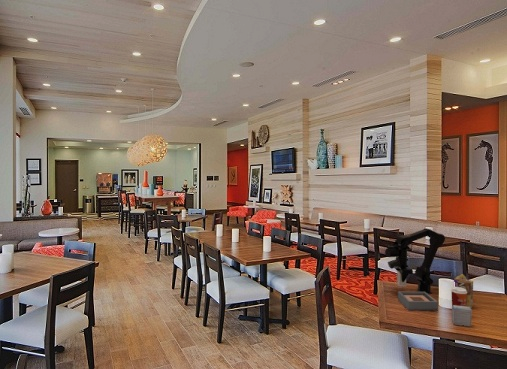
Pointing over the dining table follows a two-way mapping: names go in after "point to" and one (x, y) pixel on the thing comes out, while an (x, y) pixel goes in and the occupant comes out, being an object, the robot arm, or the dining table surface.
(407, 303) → the bin
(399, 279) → the peg
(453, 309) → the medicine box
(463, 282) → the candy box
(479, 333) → the dining table surface
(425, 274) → the robot arm
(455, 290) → the paper cup
